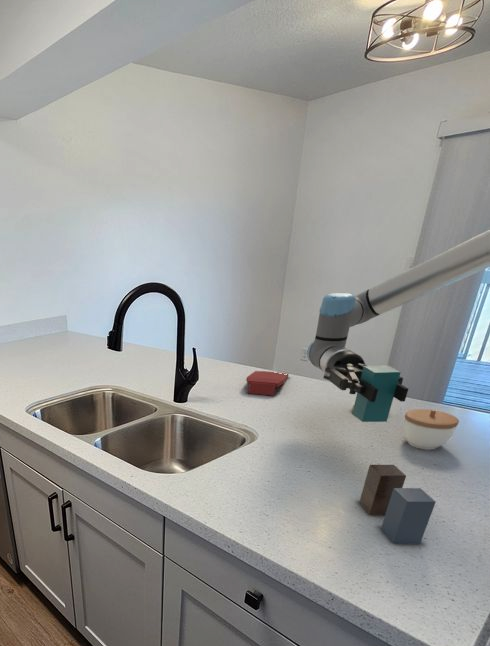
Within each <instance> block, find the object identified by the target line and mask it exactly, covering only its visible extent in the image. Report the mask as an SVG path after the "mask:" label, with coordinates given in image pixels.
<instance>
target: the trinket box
mask: <svg viewBox="0 0 490 646" xmlns="http://www.w3.org/2000/svg"><path fill="white" fill-rule="evenodd" d="M459 423H460V420H459V418H458V417H456V416H455V415H453V414H450V413H448V412H444V411H440V410H436V409H425V408H419V409H418V408H417V409H410V410H408V411H405V414H404V418H403V423H402V434H403V437H404V438H405V440H406V441H407V443H408V444H409V446H412V447H414V448H416V449H420V450H429V451H430V450H431V451H432V450H436V449H437V448H439V447H441V446H444V445H445V444H446V443H448V442H449V441H450V439H451V438H452V437H453V436H454V434H455V431H456V429H457V426H458V425H459Z"/></svg>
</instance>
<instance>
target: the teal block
mask: <svg viewBox="0 0 490 646" xmlns="http://www.w3.org/2000/svg"><path fill="white" fill-rule="evenodd" d="M401 374H402V373H401V371H399V370H397V369H396V368H394V367H392V366H390V365H366V366H364V367H363V371H362V375H361V379H360V380H364V381H366V382H368V383H369V384H371V385H372V386H374V387H375V388H377V389H378V392H377V396H376V400H375V402H370V401H369V400H368V399H366V398H365V397H363V396H362V395H361V394H359V393H357V392H356V396H355V401H354V404H353V406H354V408H353V407H352V408H353V410H352V412H351V414H352V415H353V416H354V417H356V418H357V419H358V420H359V421H360V422H362V423H384V422H385V423H387V422H388V418H389V415H390V412H391V411H390V410H391V408H392V405H393V401H394V398H395V397H394V394H395V390H396V387H397V383H398V380H399V376H400V377H401Z"/></svg>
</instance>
